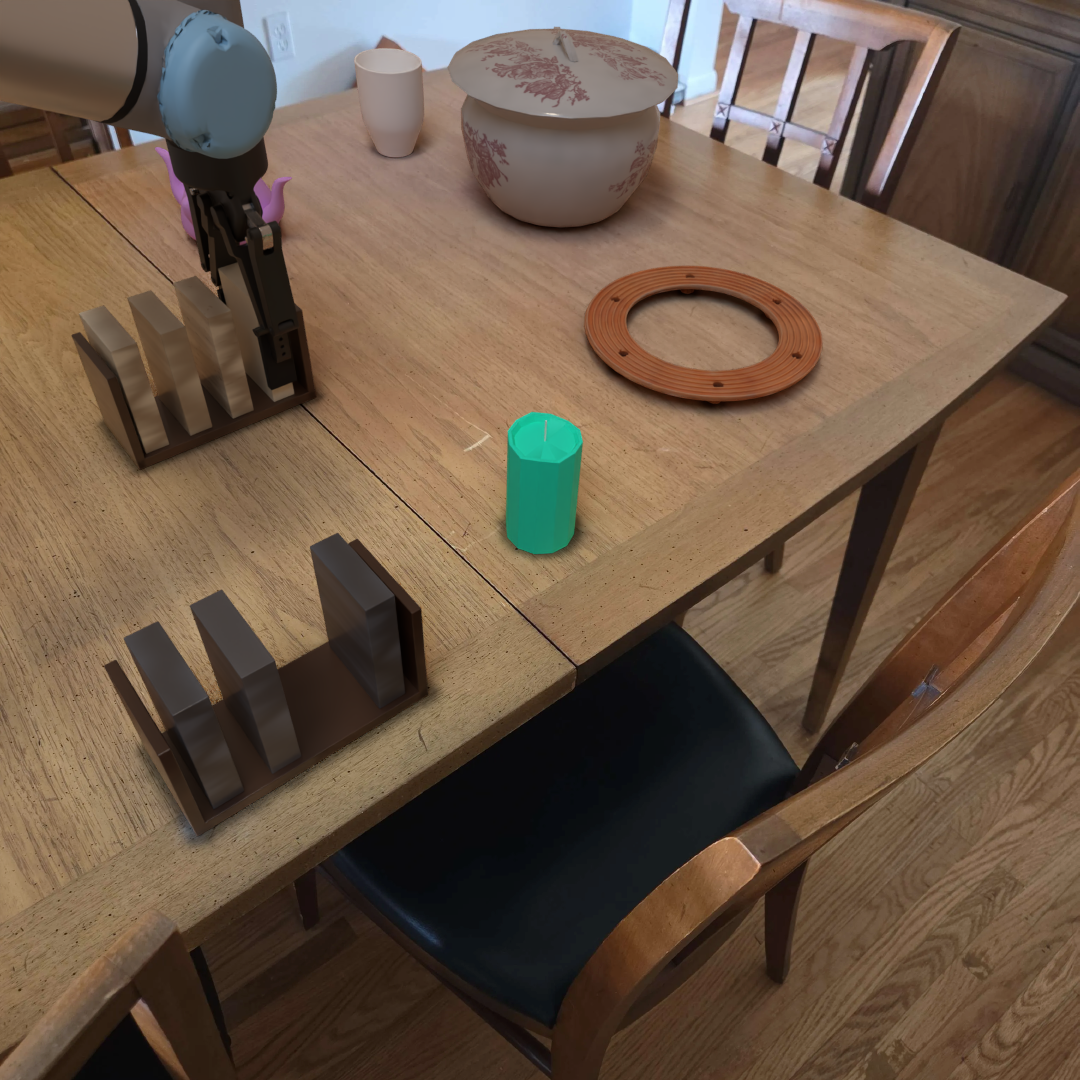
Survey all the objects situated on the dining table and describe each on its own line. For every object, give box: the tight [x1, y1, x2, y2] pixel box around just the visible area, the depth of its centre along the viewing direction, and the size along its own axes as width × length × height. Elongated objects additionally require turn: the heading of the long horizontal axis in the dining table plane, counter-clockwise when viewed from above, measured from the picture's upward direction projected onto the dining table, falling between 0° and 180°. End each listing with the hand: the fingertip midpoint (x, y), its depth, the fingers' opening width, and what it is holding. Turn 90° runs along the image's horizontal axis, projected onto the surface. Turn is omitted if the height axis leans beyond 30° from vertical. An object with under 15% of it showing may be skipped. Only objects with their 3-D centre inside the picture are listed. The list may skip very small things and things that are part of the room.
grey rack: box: [103, 532, 429, 837], centre depth 62 cm, size 18×8×12 cm, turn 129°
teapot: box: [154, 146, 293, 245], centre depth 110 cm, size 12×14×9 cm
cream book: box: [218, 262, 294, 402], centre depth 88 cm, size 2×7×11 cm, turn 39°
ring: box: [583, 265, 824, 405], centre depth 100 cm, size 25×25×2 cm
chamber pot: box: [447, 26, 679, 228], centre depth 115 cm, size 28×28×21 cm
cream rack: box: [71, 275, 317, 471], centre depth 85 cm, size 18×8×12 cm, turn 129°
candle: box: [505, 411, 584, 555], centre depth 76 cm, size 6×6×12 cm
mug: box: [353, 47, 425, 158], centre depth 128 cm, size 12×9×12 cm
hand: (263, 363), depth 90 cm, fingers closed on cream book, 7 cm apart
